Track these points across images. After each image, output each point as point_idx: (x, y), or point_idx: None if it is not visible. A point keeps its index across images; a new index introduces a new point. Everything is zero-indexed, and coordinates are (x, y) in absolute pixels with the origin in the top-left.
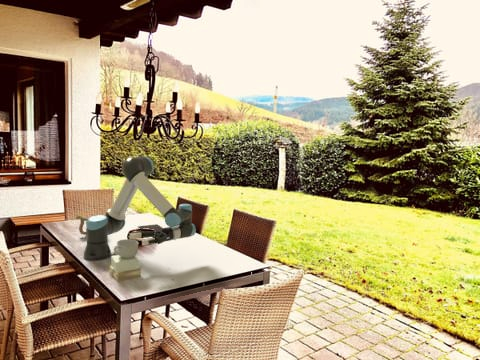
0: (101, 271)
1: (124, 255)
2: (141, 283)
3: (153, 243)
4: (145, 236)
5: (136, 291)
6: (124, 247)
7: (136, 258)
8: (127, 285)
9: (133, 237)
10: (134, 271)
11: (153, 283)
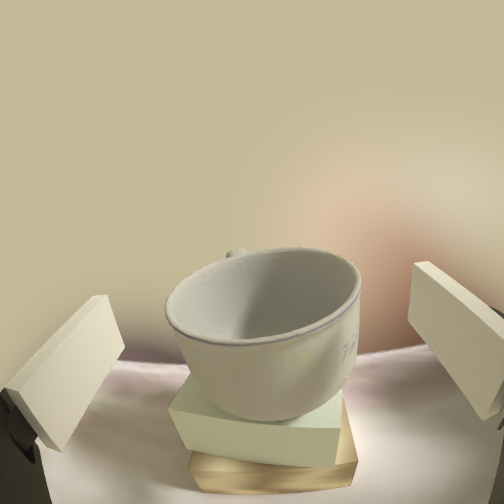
0: (377, 373)
1: (221, 333)
2: (123, 447)
3: (50, 442)
4: (498, 473)
5: (91, 401)
6: (207, 280)
7: (195, 412)
8: (155, 406)
9: (427, 325)
10: None
11: (81, 474)
